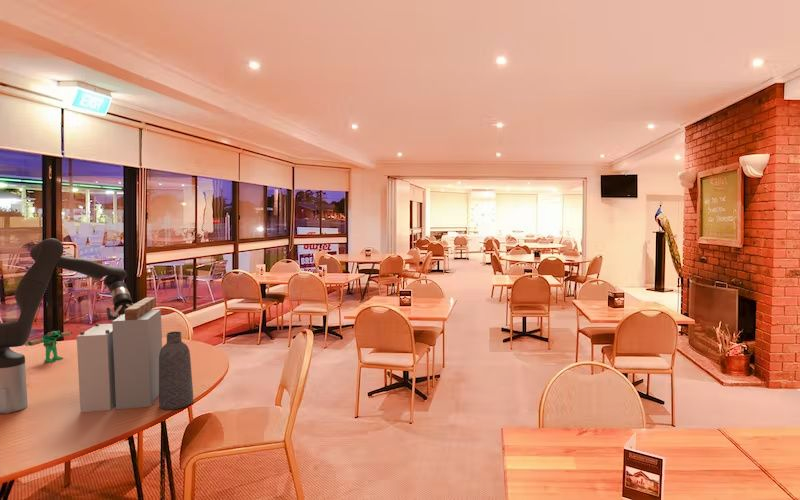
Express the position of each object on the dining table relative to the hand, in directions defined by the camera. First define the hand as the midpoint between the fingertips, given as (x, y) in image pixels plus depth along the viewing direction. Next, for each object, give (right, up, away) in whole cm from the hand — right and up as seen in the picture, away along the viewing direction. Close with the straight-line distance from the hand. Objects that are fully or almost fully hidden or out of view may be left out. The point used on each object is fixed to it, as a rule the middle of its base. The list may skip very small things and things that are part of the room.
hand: (128, 321), depth 209 cm
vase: (+33, -29, -25) cm, 51 cm away
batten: (+15, +6, -17) cm, 24 cm away
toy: (-57, -25, +31) cm, 69 cm away
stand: (+11, -28, -21) cm, 37 cm away
